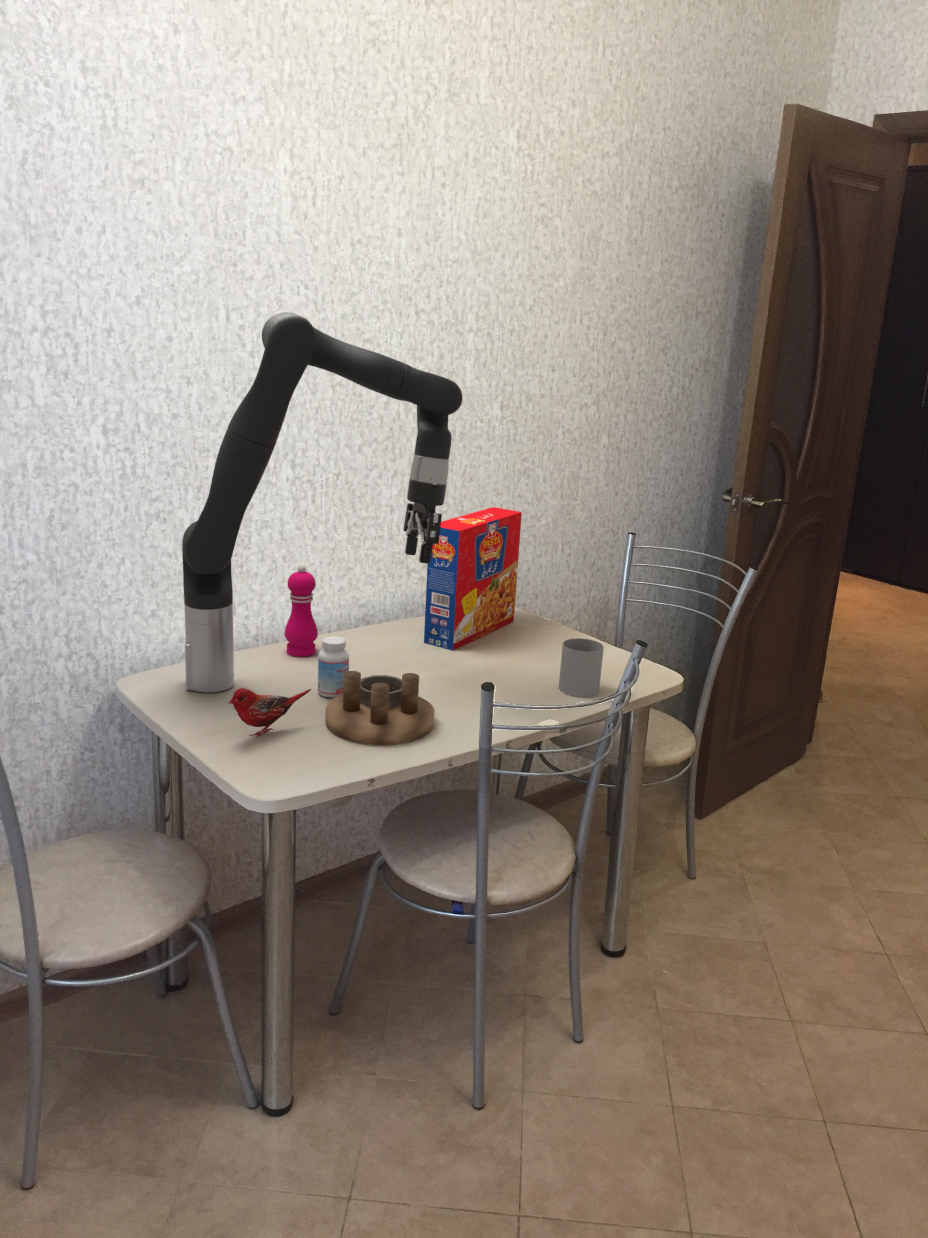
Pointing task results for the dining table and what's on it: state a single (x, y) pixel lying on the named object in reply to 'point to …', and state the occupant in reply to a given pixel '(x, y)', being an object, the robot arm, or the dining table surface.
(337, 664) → the pill bottle
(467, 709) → the dining table surface
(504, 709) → the dining table surface
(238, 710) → the decorative bird figurine
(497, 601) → the pasta box
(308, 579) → the pepper mill
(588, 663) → the cup
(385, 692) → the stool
